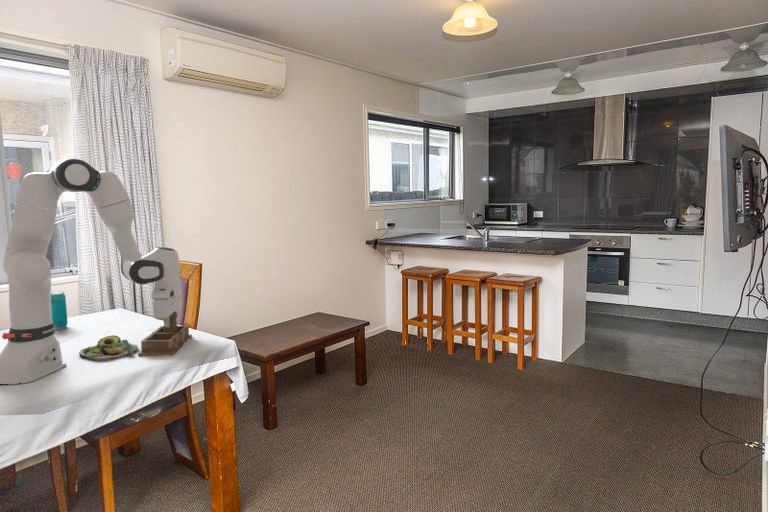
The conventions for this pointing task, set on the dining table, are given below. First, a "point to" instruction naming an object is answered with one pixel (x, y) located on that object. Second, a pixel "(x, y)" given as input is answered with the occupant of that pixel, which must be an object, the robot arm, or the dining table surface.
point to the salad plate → (108, 349)
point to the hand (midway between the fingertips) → (170, 324)
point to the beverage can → (59, 310)
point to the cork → (172, 324)
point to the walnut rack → (164, 342)
